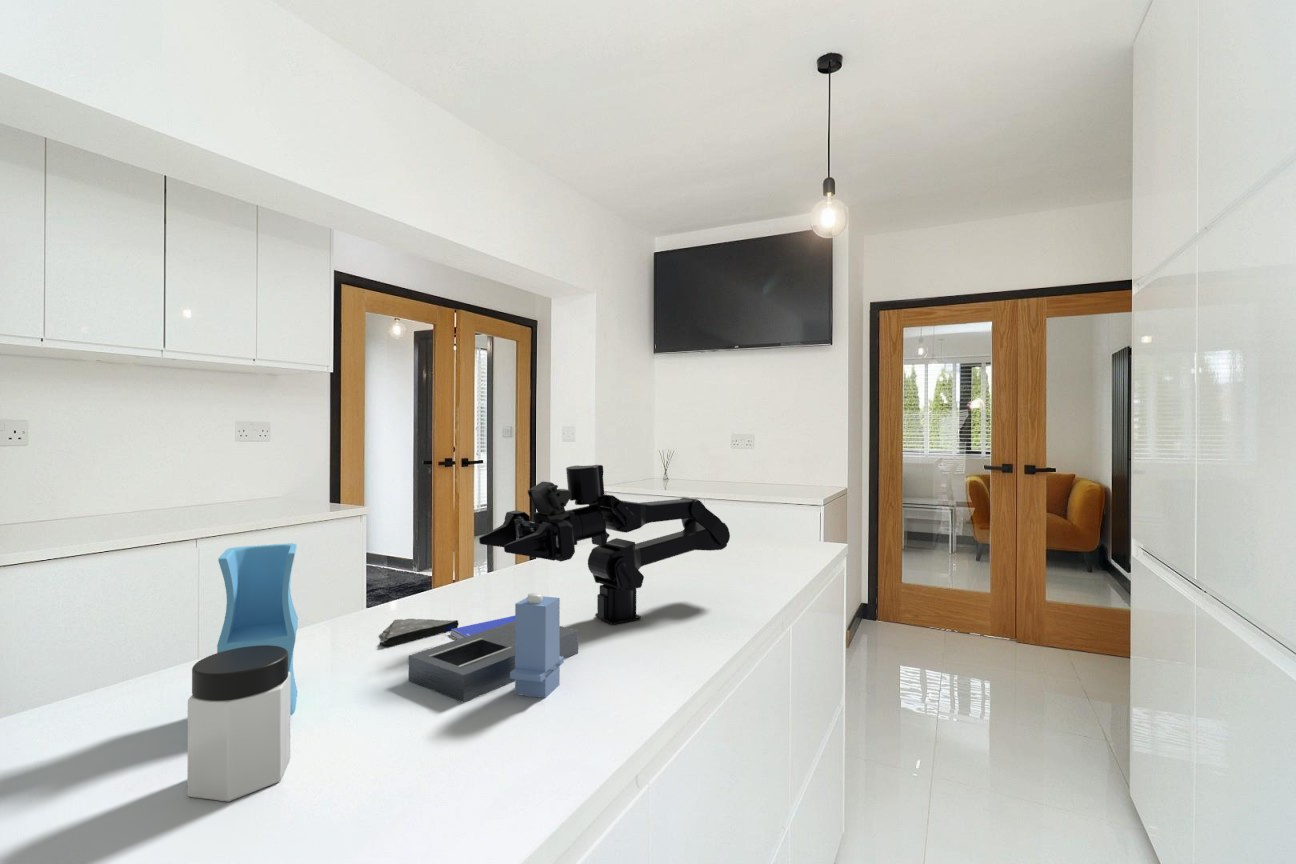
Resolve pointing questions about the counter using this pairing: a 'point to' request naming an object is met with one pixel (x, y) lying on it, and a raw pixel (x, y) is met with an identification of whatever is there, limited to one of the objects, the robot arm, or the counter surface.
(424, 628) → the stone
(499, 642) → the plate
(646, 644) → the counter surface
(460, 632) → the hard drive
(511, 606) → the counter surface
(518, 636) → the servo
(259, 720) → the jar
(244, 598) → the vase
